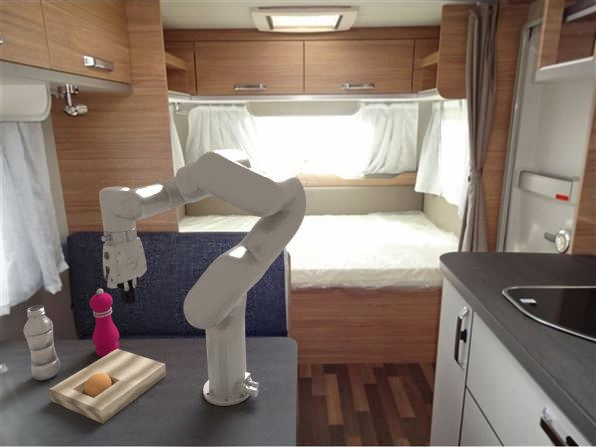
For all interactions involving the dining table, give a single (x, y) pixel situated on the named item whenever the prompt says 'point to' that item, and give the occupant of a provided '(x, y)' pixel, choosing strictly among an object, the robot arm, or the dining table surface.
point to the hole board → (125, 385)
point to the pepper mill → (104, 324)
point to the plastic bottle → (41, 344)
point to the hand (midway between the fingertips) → (129, 302)
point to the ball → (97, 384)
